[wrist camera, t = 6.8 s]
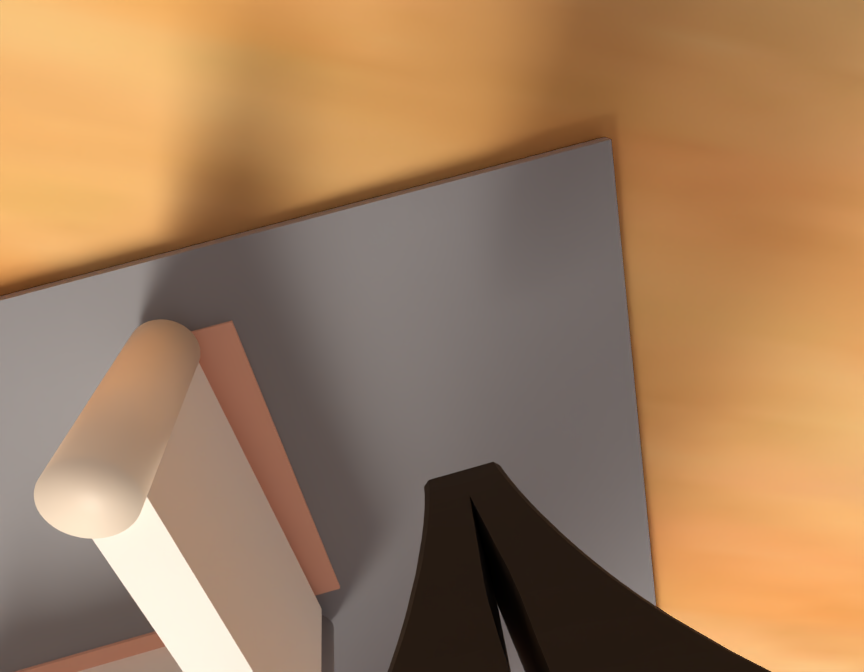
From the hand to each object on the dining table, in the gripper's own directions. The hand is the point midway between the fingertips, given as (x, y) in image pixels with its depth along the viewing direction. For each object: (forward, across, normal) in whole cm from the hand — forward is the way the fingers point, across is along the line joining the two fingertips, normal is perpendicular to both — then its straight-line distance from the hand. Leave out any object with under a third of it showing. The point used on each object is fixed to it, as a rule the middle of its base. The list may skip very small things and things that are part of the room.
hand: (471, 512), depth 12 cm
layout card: (+6, +5, +5) cm, 10 cm away
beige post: (+5, +6, +2) cm, 8 cm away
